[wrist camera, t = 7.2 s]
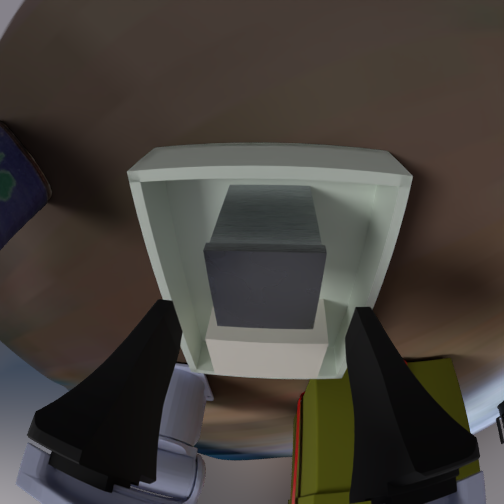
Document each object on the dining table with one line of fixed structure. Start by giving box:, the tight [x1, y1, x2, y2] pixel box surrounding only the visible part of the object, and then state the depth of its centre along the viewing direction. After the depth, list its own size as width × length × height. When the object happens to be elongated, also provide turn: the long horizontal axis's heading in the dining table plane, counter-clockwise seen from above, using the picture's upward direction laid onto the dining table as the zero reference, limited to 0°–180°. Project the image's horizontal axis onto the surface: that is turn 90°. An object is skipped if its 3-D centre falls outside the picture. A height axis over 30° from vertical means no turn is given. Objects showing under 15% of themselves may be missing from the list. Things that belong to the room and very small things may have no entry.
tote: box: [127, 143, 413, 379], centre depth 19 cm, size 18×13×4 cm
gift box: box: [288, 358, 480, 504], centre depth 22 cm, size 21×21×25 cm
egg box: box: [205, 299, 328, 378], centre depth 21 cm, size 5×8×4 cm, turn 92°
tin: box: [203, 185, 327, 329], centre depth 14 cm, size 5×5×6 cm
